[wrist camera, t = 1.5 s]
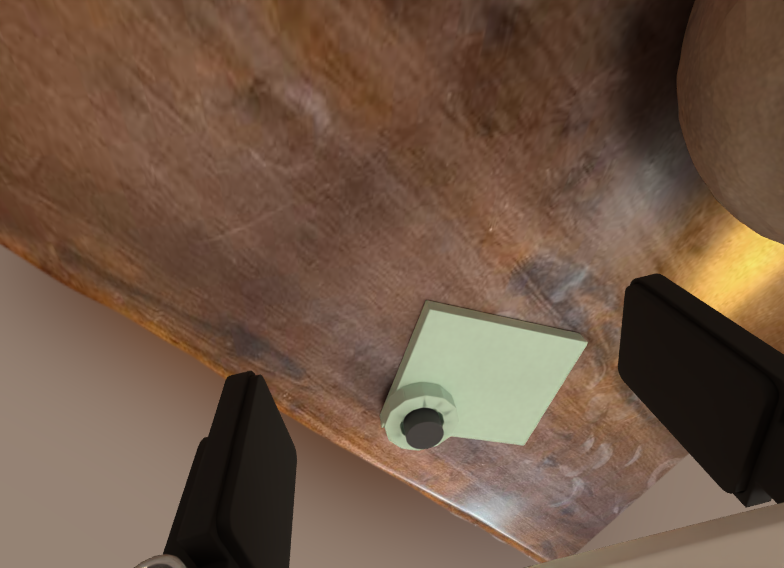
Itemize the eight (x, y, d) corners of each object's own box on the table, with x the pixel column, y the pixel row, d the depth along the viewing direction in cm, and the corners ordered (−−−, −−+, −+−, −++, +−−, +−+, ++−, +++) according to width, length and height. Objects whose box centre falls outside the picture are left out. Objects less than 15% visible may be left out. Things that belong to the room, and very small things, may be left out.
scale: (372, 418, 37) (376, 445, 34) (420, 298, 32) (428, 320, 29) (516, 437, 41) (529, 463, 38) (579, 332, 36) (599, 355, 33)
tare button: (398, 431, 34) (400, 447, 33) (409, 404, 33) (413, 419, 32) (431, 436, 35) (436, 451, 34) (444, 409, 34) (449, 424, 33)
